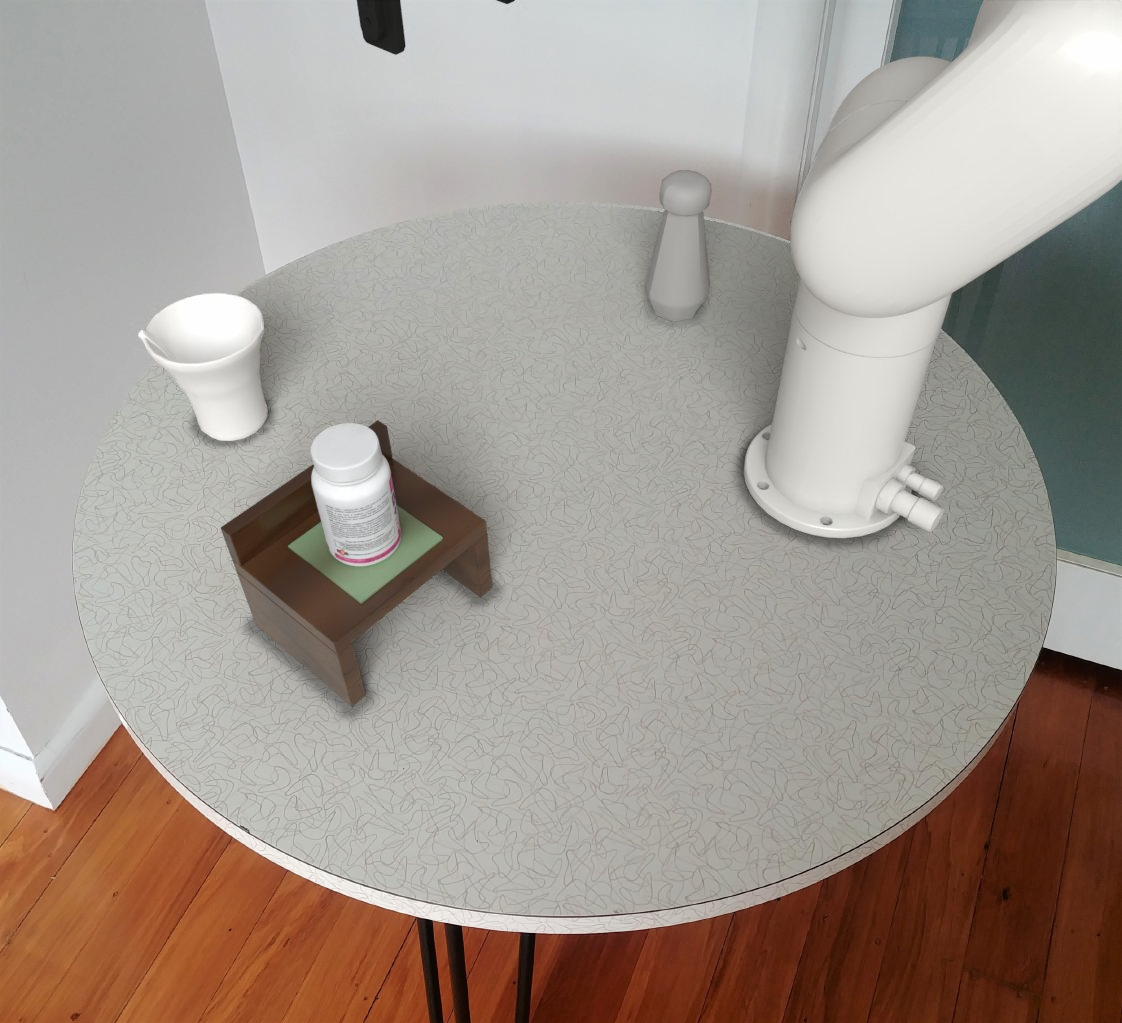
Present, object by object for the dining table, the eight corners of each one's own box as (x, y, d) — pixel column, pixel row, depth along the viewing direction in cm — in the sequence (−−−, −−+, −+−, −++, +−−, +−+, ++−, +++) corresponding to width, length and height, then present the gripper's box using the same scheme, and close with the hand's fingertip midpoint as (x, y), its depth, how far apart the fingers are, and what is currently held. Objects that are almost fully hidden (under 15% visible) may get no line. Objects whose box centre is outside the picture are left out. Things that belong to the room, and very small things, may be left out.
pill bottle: (417, 541, 68) (401, 445, 62) (357, 581, 66) (334, 486, 60) (373, 502, 70) (353, 406, 64) (313, 539, 68) (287, 444, 62)
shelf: (492, 587, 75) (483, 488, 67) (352, 707, 68) (325, 612, 61) (395, 519, 79) (377, 419, 72) (255, 625, 72) (219, 527, 65)
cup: (180, 392, 89) (145, 293, 82) (292, 383, 90) (267, 284, 82) (166, 466, 83) (127, 366, 76) (286, 455, 84) (259, 356, 76)
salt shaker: (647, 286, 99) (655, 157, 89) (709, 292, 98) (724, 163, 89) (640, 324, 95) (647, 193, 85) (704, 330, 94) (719, 199, 85)
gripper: (329, -278, 48) (379, 87, 61) (576, -335, 57) (576, -5, 70) (229, -300, 52) (296, 50, 64) (477, -350, 61) (493, -33, 73)
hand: (441, 21), depth 67 cm, fingers open, 9 cm apart
